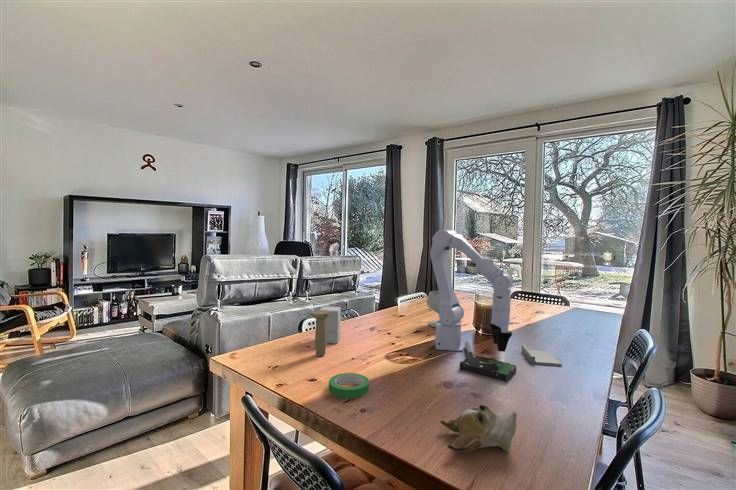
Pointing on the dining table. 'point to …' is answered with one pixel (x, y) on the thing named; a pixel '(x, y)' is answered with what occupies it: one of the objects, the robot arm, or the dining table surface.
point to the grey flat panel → (529, 356)
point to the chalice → (434, 304)
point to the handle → (320, 331)
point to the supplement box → (333, 324)
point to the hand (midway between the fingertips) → (499, 347)
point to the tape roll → (349, 391)
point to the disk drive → (488, 367)
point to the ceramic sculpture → (482, 429)
